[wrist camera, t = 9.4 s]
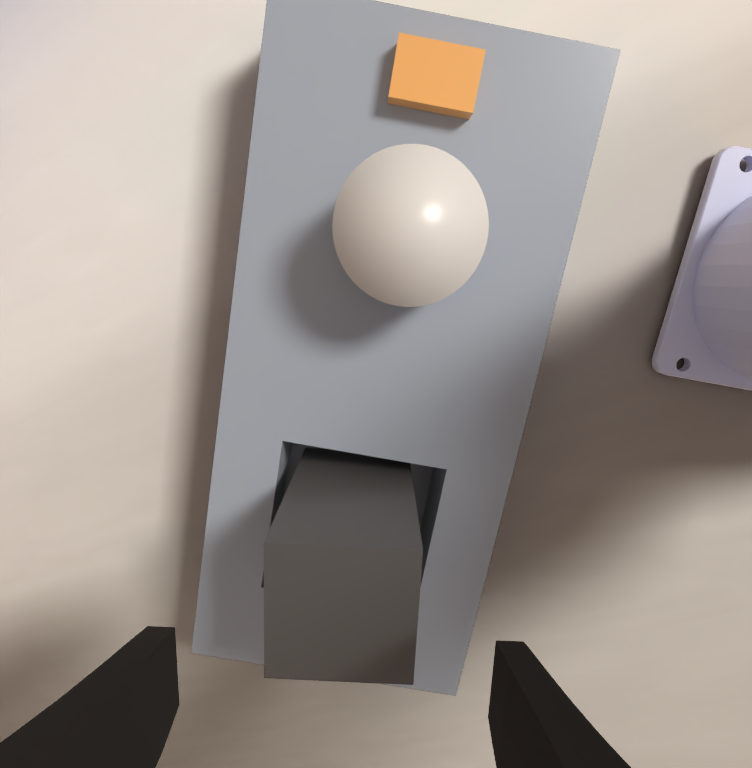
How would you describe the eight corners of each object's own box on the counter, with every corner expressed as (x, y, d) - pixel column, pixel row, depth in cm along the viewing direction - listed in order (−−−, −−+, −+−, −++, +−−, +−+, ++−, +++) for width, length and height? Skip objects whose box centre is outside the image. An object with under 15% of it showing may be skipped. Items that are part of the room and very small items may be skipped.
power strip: (579, 88, 17) (670, 2, 12) (445, 639, 22) (466, 759, 16) (289, 31, 17) (244, -84, 11) (217, 601, 21) (161, 710, 16)
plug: (408, 452, 19) (423, 549, 13) (402, 546, 20) (413, 685, 13) (305, 447, 19) (263, 542, 13) (303, 541, 20) (264, 677, 13)
